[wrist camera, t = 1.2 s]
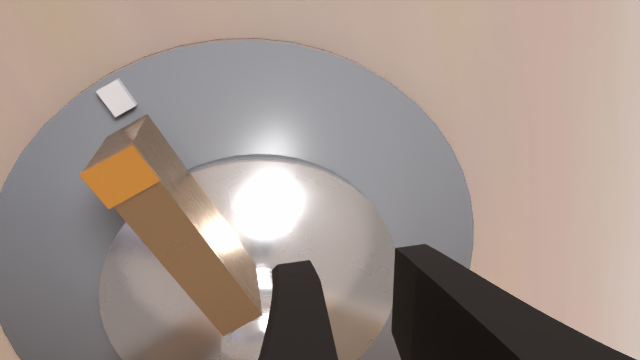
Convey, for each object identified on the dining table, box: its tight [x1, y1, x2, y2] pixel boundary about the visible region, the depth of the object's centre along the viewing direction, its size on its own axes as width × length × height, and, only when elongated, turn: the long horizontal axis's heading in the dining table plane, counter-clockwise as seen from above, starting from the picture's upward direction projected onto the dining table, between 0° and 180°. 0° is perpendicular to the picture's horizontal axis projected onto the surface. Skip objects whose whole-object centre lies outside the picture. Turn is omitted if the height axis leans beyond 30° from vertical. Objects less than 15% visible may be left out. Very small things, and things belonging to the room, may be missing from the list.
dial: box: [79, 114, 395, 360], centre depth 17 cm, size 14×12×4 cm
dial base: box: [0, 38, 474, 360], centre depth 20 cm, size 20×20×1 cm
